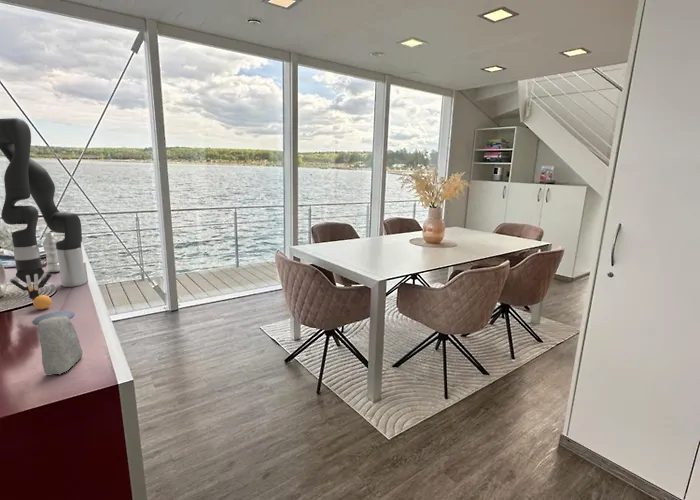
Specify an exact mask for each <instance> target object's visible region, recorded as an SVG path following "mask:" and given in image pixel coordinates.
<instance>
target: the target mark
mask: <svg viewBox="0 0 700 500" xmlns="http://www.w3.org/2000/svg"><path fill="white" fill-rule="evenodd" d="M75 315H76V314H75V312H74V311H70V310H62V311H61V310H60V311H53V312H48V313H43V314H42V315H39V316H37V317H36V318H34V319H33V320H32V323H33V324H35V325H38V323H39V322H40V321H42V320H44V319H48V318H53V317H60V316H66V317H67V318H68V319H69V320H70V319H72V318H73V317H74V316H75Z"/></svg>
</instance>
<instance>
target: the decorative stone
mask: <svg viewBox="0 0 700 500" xmlns="http://www.w3.org/2000/svg"><path fill="white" fill-rule="evenodd" d="M37 331H38V339H39V343H40V344H39V345H40V348H41V364H42V369H43V372H44V375H45V374H46V375H45V376H47V375H50V374H59V375H61V374H60V373H63V372H65V371H67V370H69V369H70V368H71V367H72V366H73V367H74V366H75V365H76V364H75V363H76V362H77V363H78V361H79V360H81V358H82V357H83V349H82V346H81V343H80V339H79V335H78V334H77V330H76V328H75V325H74V324H73V322H72V321H71V320H70V319H68V318H67V317H66V316H60V317H53V318H48V319H44V320H42V321H40V322H39V323H38V324H37ZM73 367H72V368H73ZM72 368H71V369H72ZM71 369H70V370H71ZM70 370H69V371H70ZM67 372H68V371H67ZM65 373H66V372H65ZM63 374H64V373H63Z"/></svg>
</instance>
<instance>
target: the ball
mask: <svg viewBox="0 0 700 500" xmlns="http://www.w3.org/2000/svg"><path fill="white" fill-rule="evenodd" d="M52 302H53V301H52V298H51V297H50V296H49V295H46V294H41V295H39V296H37V297H36V298H35V299H34V300H32V305H33V306H34V308H35V309H38V310H46V309H48V308H49V307H51V305H52Z"/></svg>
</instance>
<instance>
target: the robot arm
mask: <svg viewBox="0 0 700 500" xmlns="http://www.w3.org/2000/svg"><path fill="white" fill-rule="evenodd" d="M31 143H32V133H31V128H30V126H29V125H28V123H27V122H26V121H25V120H24V119H21V118H19V117H15V118H14V117H11V118H10V117H9V118H7V117H6V118H0V151H1V152H2V154H3V155H4V156H5V157H6V159H7V160H8V161H9V164H8V166H6V170H5V172H4V177H3V182H4V183H3V184H4V189H5V191H4V192H5V195H4V196H5V197H4V202H3V206H2V210H1V214H0V215H1V220H2V221H3V222H4V223H5V224H7V225H13V226H14V225H26V228H23V229H18V230H14V231H12V233H11V239H12V247H13V258H14V262H15V268H16V273H15V276H14V277H13V278H12V279H9V282H10V283H11V284H12V285H14V286H16V287H17V288H19V289H20V290H21V291H23V292H27V294H28V298H29V299H30V300H32V301H34V299H35V298H36V297H37V296H40V295H39V290H40V289H42V288H44V287H45V285H46V284H47V283H48V281H49V280H50V279H51V277H52V274H51V273H50V272H48V273H47V272H45V270H44V269H43V266H42V261H41V260H42V259H41V254H40V253H41V252H40V249H39V246H38V245H39V244H38V240H37V224H38V220H39V216H40V215H39V211H40V213H41V215H42V218H43V219H44V223H45V224H46V225H47V227H48V228H49V230H50V231H51V232H52V233H54V234H55V233H56V234H64V238H63V239H62V240H59V241H58V242H57V243H56V250H57V257H58V263H59V269H60V271H59V275H60V281H61V286H62V287H64V288H65V287H67V288H69V287H71V288H72V287H79V286H82V285H85V284H86V283H87V282H89V278H88V271H87V263H86V261H84V256H83V255H84V254H83V249H82V241H83V234H82V233H83V232H82V222H81V219H80V217H79V215H78V214H77V213H74V212H60V210H59V209H58V208H57V206H56V204H55V201H54V197H55V192H56V186H55V182H54V181H53V179H52V177H51V176H50V174H49V173H48V171H47V169H45V167H43V166H42V165H41V164H39V162H37V161H35V160H34V159H32V158H30V157H31V146H32V144H31ZM31 197H32V199H33V200H34V202H35V204H36V206H37V207H38V209H39V211H38V209H37V208H36V207H35V206H33V205H16V204H17V202H19V201H24V200H27V199H30V198H31ZM40 279H41V280H40ZM20 281H22V282H23V283H25V285H26V286H24V285H22V284H21V283H20Z"/></svg>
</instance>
